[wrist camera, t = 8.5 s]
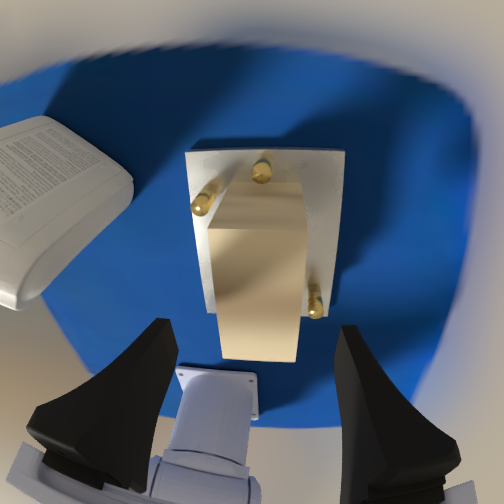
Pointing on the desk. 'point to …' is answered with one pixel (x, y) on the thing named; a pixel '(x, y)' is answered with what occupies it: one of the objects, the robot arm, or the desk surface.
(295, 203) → the board
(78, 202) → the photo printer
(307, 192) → the plate
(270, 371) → the desk surface
